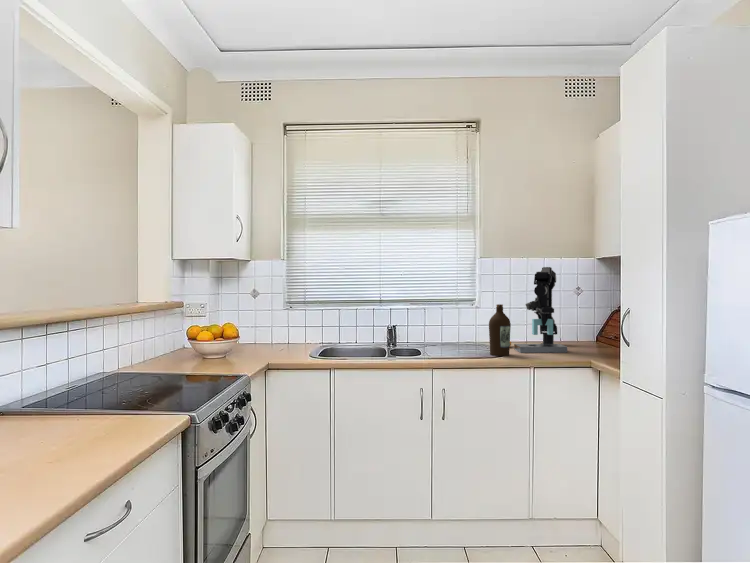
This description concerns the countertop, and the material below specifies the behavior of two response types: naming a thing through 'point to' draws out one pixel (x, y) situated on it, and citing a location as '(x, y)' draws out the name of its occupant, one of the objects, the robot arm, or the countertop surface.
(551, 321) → the clip
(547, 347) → the rail plate
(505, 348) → the olive oil
